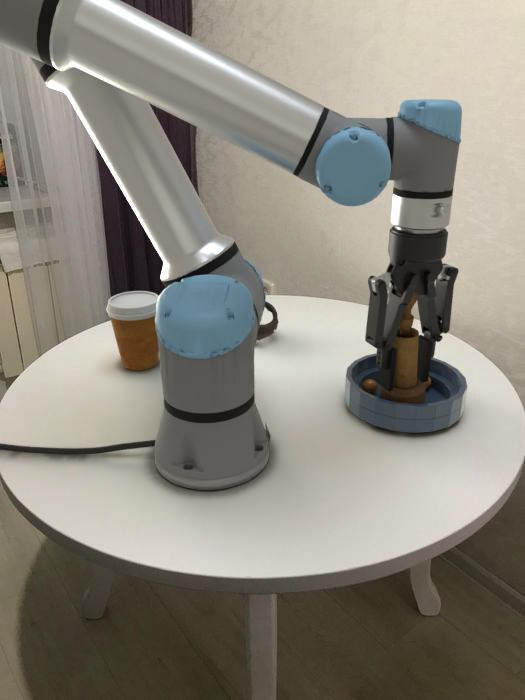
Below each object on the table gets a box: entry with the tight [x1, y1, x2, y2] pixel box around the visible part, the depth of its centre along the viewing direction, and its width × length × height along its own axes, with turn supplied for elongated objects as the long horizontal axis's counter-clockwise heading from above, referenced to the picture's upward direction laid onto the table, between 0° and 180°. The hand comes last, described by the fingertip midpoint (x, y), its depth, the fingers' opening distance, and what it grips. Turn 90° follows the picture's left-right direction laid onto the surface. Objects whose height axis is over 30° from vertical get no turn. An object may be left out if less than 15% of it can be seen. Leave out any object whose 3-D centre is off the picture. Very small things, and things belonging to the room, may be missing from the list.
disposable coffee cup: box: [105, 290, 160, 371], centre depth 102 cm, size 10×10×12 cm
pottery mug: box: [255, 300, 279, 344], centre depth 114 cm, size 12×10×8 cm
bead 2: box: [424, 377, 431, 389], centre depth 93 cm, size 2×2×2 cm
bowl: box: [344, 352, 468, 434], centre depth 90 cm, size 18×18×5 cm
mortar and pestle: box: [380, 292, 426, 404], centre depth 85 cm, size 7×6×18 cm
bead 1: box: [362, 379, 378, 394], centre depth 92 cm, size 2×2×2 cm
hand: (403, 382), depth 87 cm, fingers closed on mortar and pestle, 6 cm apart
